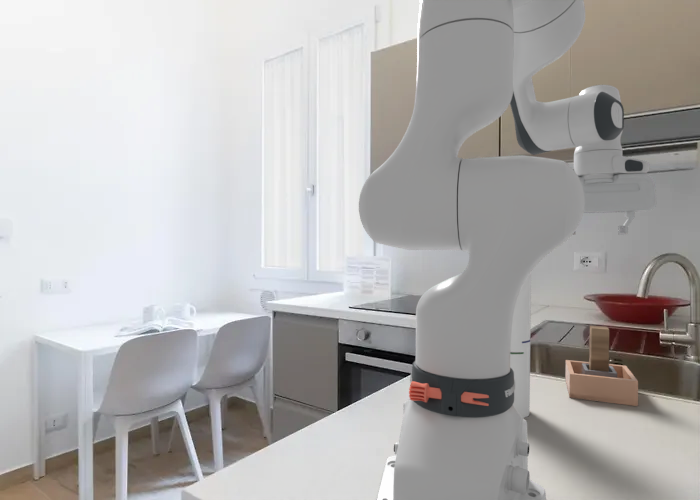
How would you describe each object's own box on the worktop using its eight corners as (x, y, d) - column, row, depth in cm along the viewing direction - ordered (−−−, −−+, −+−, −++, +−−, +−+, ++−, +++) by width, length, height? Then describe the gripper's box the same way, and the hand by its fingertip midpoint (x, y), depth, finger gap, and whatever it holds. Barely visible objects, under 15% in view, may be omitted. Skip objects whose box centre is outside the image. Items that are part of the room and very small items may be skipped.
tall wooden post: (608, 391, 84) (609, 329, 84) (590, 389, 85) (591, 328, 85) (606, 387, 87) (606, 326, 86) (588, 385, 88) (589, 325, 88)
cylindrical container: (538, 413, 75) (540, 267, 75) (511, 421, 71) (512, 268, 71) (504, 400, 81) (505, 265, 81) (477, 407, 77) (478, 266, 77)
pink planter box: (637, 406, 79) (638, 379, 78) (569, 397, 83) (569, 372, 83) (625, 387, 89) (626, 364, 89) (565, 381, 93) (565, 358, 93)
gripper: (543, 168, 92) (542, 234, 92) (659, 162, 84) (658, 234, 84) (542, 173, 98) (541, 235, 98) (651, 167, 90) (650, 234, 90)
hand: (596, 234), depth 91 cm, fingers open, 8 cm apart
